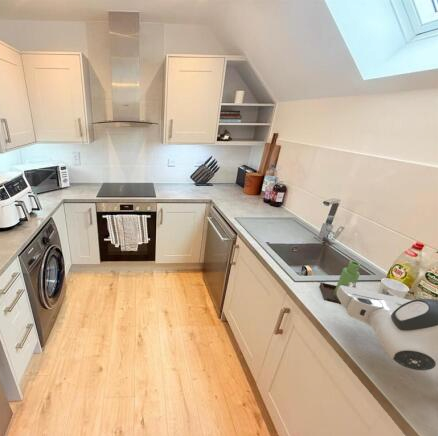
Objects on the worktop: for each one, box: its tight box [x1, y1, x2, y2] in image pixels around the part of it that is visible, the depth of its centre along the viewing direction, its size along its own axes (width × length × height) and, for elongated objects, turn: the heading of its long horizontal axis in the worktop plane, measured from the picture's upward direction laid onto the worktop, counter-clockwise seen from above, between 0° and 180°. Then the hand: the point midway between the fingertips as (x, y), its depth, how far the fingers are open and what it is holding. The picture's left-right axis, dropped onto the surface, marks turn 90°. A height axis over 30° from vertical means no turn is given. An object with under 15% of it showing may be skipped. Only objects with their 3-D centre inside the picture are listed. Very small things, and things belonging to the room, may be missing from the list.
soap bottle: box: [333, 260, 361, 299], centre depth 96 cm, size 5×5×17 cm
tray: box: [318, 282, 342, 305], centre depth 99 cm, size 13×11×2 cm
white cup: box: [375, 277, 410, 299], centre depth 95 cm, size 8×8×10 cm
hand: (367, 287), depth 82 cm, fingers open, 8 cm apart
